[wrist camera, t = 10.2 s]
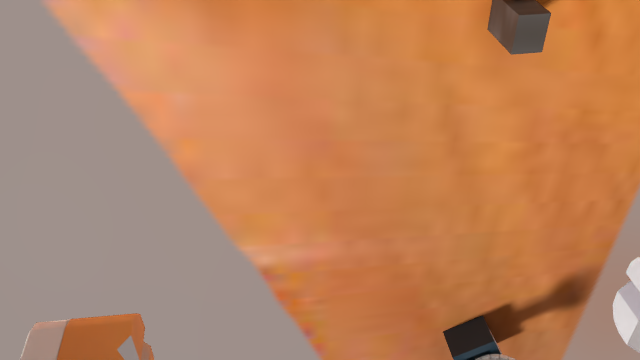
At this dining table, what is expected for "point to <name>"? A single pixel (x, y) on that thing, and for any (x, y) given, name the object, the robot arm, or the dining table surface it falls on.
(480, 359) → the watch
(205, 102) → the dining table surface
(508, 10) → the hammer
